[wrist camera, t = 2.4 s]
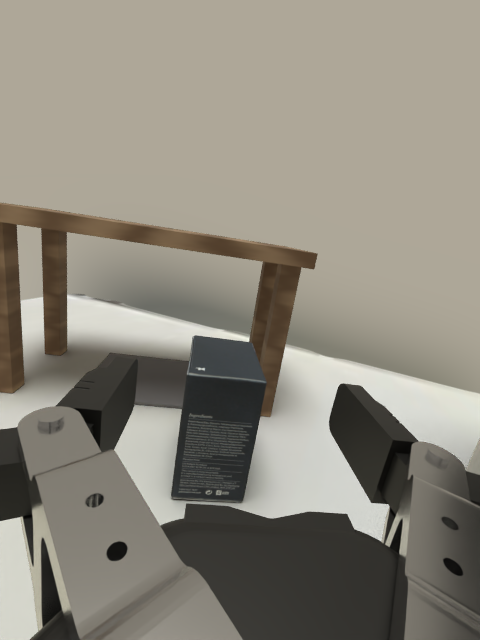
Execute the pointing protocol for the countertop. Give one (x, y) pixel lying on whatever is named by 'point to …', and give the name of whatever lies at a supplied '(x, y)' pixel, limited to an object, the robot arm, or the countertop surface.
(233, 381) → the box
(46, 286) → the low shelf
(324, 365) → the countertop surface
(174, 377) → the charcoal mat
